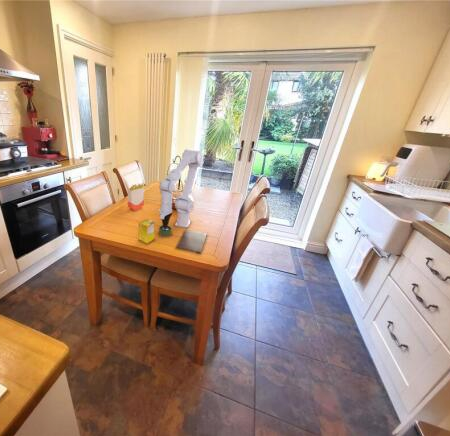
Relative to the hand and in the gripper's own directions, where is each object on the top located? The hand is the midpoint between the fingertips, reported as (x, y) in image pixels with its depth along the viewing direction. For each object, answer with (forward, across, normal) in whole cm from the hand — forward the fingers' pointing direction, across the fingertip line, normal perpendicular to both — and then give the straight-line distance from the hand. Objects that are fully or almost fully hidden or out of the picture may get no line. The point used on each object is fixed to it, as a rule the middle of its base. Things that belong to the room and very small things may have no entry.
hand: (165, 225), depth 128 cm
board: (+5, +2, +16) cm, 17 cm away
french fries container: (+6, -27, -30) cm, 41 cm away
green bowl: (+5, 0, 0) cm, 5 cm away
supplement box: (+6, +10, -7) cm, 13 cm away
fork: (+5, 0, 0) cm, 5 cm away
